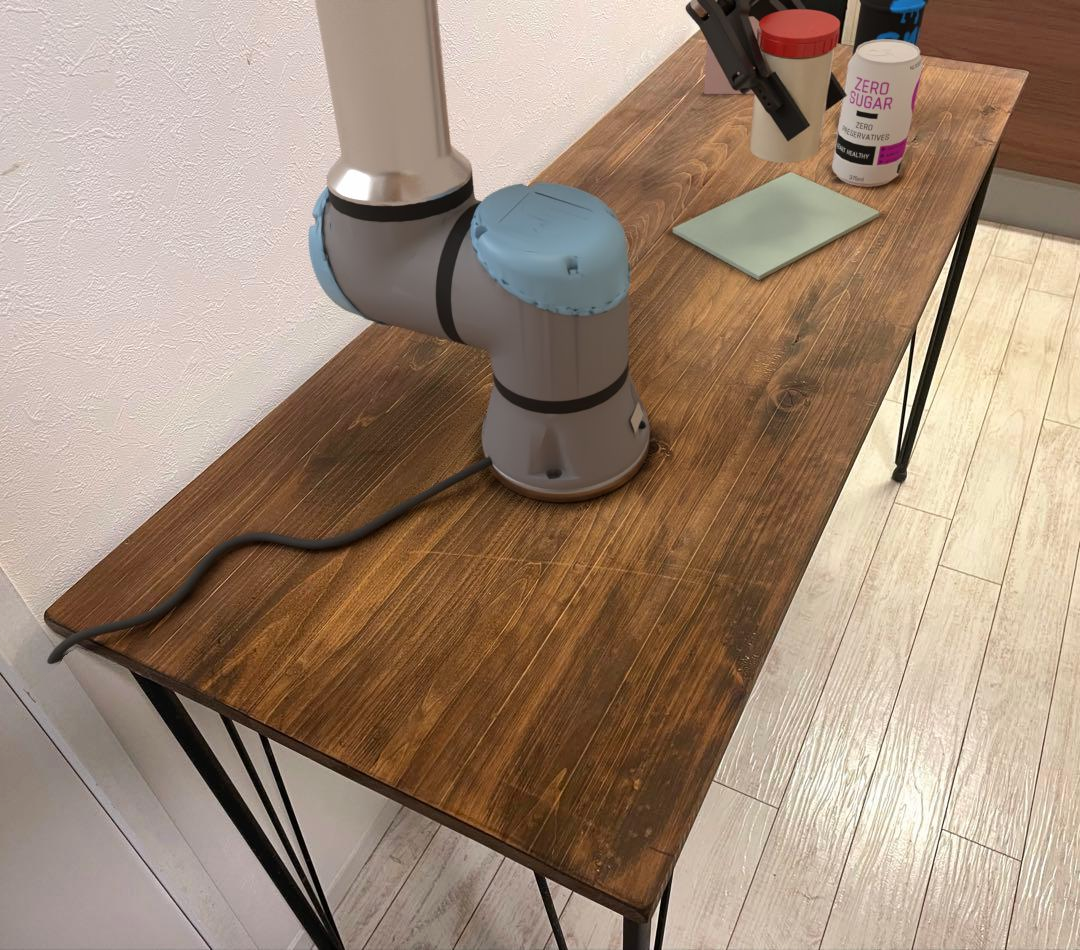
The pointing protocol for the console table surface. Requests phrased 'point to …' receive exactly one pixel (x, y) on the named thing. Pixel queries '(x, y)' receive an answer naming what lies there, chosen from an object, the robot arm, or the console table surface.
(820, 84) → the jar
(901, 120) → the white soda can
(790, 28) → the lid
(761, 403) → the console table surface
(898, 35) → the aerosol can
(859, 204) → the mat
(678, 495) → the console table surface
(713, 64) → the greeting card
